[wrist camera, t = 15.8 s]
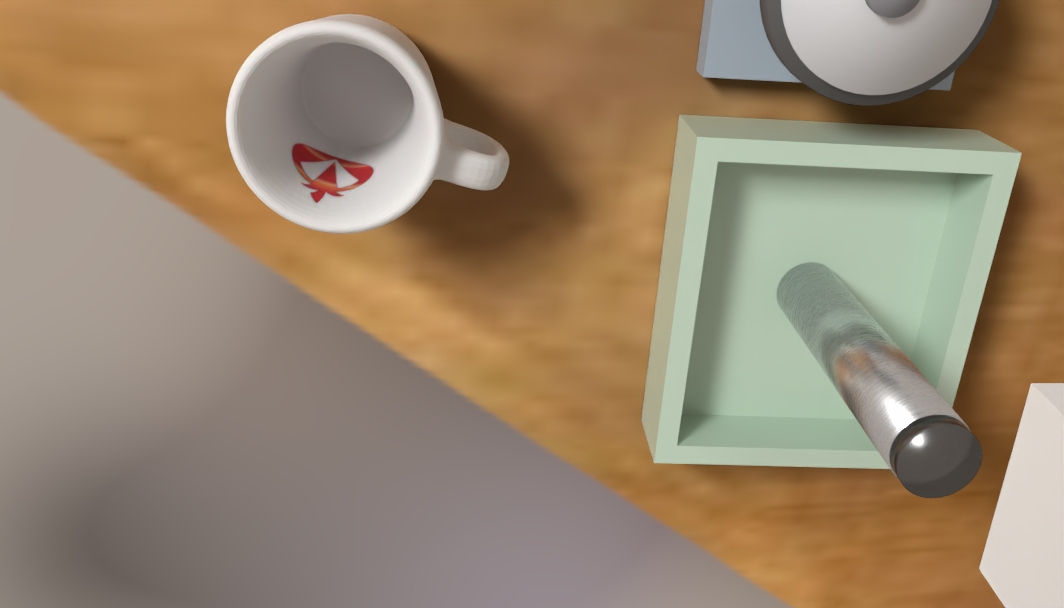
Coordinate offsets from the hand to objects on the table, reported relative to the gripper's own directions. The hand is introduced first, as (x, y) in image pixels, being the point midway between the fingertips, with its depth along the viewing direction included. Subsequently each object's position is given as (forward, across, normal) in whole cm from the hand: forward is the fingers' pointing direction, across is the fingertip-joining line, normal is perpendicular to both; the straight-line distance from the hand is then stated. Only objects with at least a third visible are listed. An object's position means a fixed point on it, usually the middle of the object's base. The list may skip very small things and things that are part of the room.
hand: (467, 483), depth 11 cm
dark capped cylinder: (+32, +16, -13) cm, 38 cm away
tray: (+34, +16, -13) cm, 39 cm away
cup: (+34, -4, -4) cm, 34 cm away
